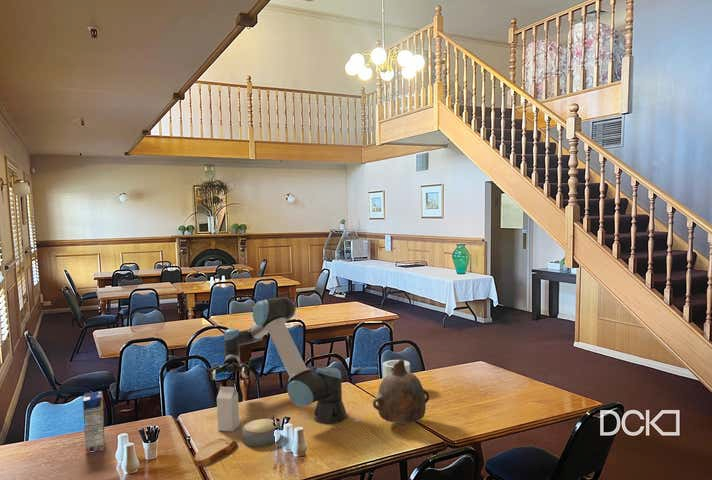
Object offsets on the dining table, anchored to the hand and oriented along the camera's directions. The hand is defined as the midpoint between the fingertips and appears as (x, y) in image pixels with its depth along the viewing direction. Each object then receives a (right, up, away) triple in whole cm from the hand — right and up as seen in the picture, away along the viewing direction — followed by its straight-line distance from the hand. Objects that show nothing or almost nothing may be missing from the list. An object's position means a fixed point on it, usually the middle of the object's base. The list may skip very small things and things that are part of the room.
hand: (228, 375), depth 232 cm
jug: (+81, -19, -13) cm, 84 cm away
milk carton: (+3, -22, -9) cm, 24 cm away
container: (+83, -18, +34) cm, 92 cm away
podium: (+20, -21, -22) cm, 37 cm away
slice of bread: (+4, -23, -34) cm, 41 cm away
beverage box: (-51, -24, -23) cm, 61 cm away
